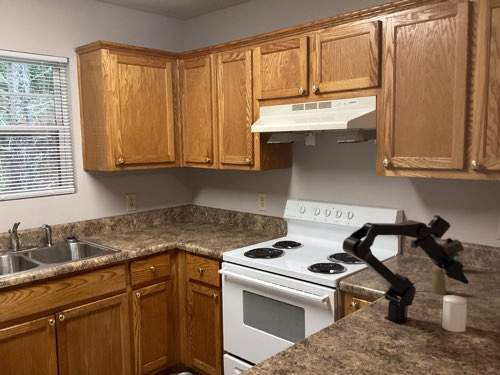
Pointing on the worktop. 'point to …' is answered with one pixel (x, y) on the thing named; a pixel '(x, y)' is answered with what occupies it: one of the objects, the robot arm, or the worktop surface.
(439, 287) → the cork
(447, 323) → the tumbler
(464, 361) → the worktop surface
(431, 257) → the robot arm
